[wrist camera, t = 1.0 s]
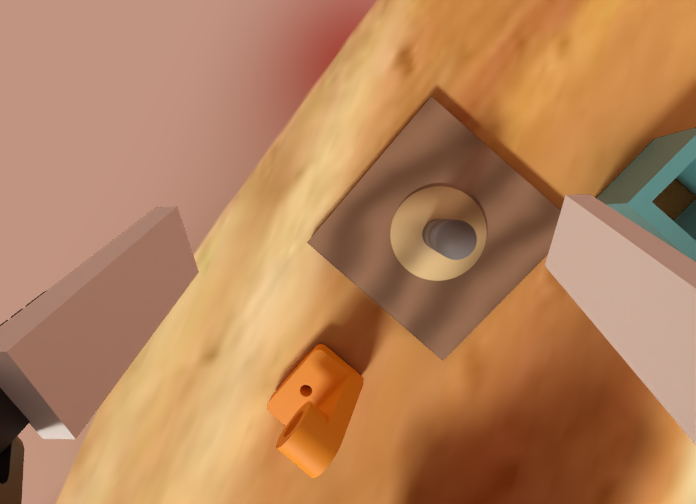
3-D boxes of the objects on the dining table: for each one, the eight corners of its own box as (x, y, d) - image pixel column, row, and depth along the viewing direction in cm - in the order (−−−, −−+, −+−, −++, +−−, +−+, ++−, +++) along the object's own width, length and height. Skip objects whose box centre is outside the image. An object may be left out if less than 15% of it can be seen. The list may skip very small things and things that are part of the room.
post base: (569, 224, 40) (640, 228, 29) (440, 355, 43) (462, 403, 32) (429, 100, 40) (449, 58, 29) (309, 241, 43) (287, 250, 32)
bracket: (321, 338, 44) (301, 384, 32) (363, 374, 44) (359, 433, 32) (270, 396, 46) (233, 460, 34) (311, 430, 46) (289, 507, 34)
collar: (718, 195, 38) (781, 192, 33) (651, 260, 40) (700, 268, 34) (654, 138, 38) (705, 124, 32) (589, 204, 40) (627, 203, 34)
